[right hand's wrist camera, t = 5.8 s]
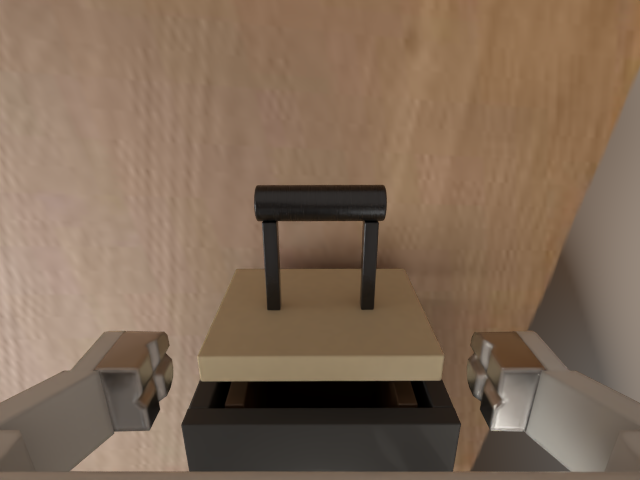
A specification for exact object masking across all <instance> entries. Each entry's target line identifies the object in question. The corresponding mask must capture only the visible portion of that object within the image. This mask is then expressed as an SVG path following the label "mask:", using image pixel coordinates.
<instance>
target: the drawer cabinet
mask: <svg viewBox="0 0 640 480" xmlns="http://www.w3.org/2000/svg"><path fill="white" fill-rule="evenodd" d="M231 382H232V381H201V380H200V381H199V384H198V386H197V389H196V391H195V394H194V396H193V399H192V401H191V404H190V406H189V409H188V410H187V412H186V415H185V417H184V420H183V422H182V425H181V426H182V432H183V437H184V443H185V449H186V455H187V461H188V466H189V472H228V471H295V472H453V467H454V462H455V456H456V450H457V444H458V438H459V432H460V426H461V423H460V421H459V418H458V416H457V414H456V411H455V409H454V408H453V405H452V402H451V400H450V398H449V395H448V393H447V390H446V388H445V386H444V383H443V381H442V378H441V380H440V381H410V382H411V385H412V388H413V391H414V395H415V398H416V401H417V408H225V402H226V399H227V395H228V392H229V389H230V385H231Z"/></svg>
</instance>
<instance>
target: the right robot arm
mask: <svg viewBox="0 0 640 480" xmlns="http://www.w3.org/2000/svg"><path fill="white" fill-rule="evenodd" d="M169 346H170V345H169V341H168V336H167V334H166V333H165V332H148V331H127V332H126V331H107V332H104V333H103V334H102V335H101V336H100V337H99V339H98V340H97V341H96V342H95V343H94V344H93V345H92V347H91V348H90V349H89V350H88V351H87V352H86V353H85V355H84V356H83V357H82V358H81V359H80V360H79V361H78V362H77V364H76V365H75V366H74V367H73V368H72V369H71V370H70V371H63V372H61V373H59V374H57V375H55V376H53V377H51V378H49V379H47V380H45V381H43V382H41V383H39V384H37V385H35V386H33V387H31V388H29V389H27V390H25V391H23V392H21V393H19V394H17V395H15V396H13V397H11V398H9V399H7V400H5V401H3V402H1V403H0V480H640V403H639V402H637V401H635V400H633V399H631V398H629V397H627V396H625V395H623V394H621V393H619V392H617V391H615V390H613V389H611V388H609V387H607V386H605V385H603V384H601V383H599V382H597V381H595V380H593V379H591V378H589V377H587V376H585V375H583V374H581V373H579V372H577V371H570V370H569V369H568V368H567V367H566V366H565V365H564V364H563V362H562V361H561V360H560V359H559V358H558V357H557V356H556V355H555V353H554V352H553V351H552V350H551V349H550V348H549V347H548V345H547V344H546V343H545V342H544V341H543V340H542V339H541V338H540V336H539V335H538V334H537V333H535V332H533V331H513V332H474V334H473V336H472V340H471V345H470V346H471V347H472V349H473V351H474V354H473V355H472V356H471V357H470V358H469V359H468V364H467V379H468V384H469V387H470V390H471V392H472V394H473V396H474V397H476V398H477V399H478V400H480V401H481V406H480V410H481V412H482V414H483V416H484V418H485V420H486V422H487V424H488V426H489V428H490V430H491V431H525V432H526V434H527V435H528V436H530V437H531V438H532V439H533V440H534V441H536V442H537V443H538V444H539V445H540V446H541V447H543V448H544V449H545V450H546V451H547V452H549V453H550V454H551V455H552V456H553V457H554V458H556V459H557V460H558V461H559V462H560V463H562V464H563V465H564V466H565V467H566V468H568V469H569V470H570V471H571V472H295V471H228V472H82V471H70V470H71V469H73V468H74V467H75V466H76V465H77V464H79V463H80V462H81V461H82V460H83V459H84V458H86V457H87V456H88V455H89V454H90V453H92V452H93V451H94V450H95V449H96V448H98V447H99V446H100V445H101V444H102V443H103V442H105V441H106V440H107V439H108V438H109V437H111V436H112V435H113V434H114V432H115V431H149V430H150V428H151V426H152V424H153V422H154V420H155V418H156V416H157V414H158V412H159V410H160V406H159V401H160V400H162V399H163V398H164V397H166V396H167V394H168V392H169V390H170V388H171V383H172V379H173V363H172V359H171V358H170V357H169V356H168V355H167V354H166V351H167V349H168V347H169Z"/></svg>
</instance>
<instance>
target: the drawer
mask: <svg viewBox="0 0 640 480" xmlns="http://www.w3.org/2000/svg"><path fill="white" fill-rule="evenodd" d="M254 208H255V216H256V219H257V221H263V222H262V230H263V247H264V264H265V269H236V271H235V274H234V276H233V278H232V280H231V283H230V285H229V287H228V289H227V291H226V294H225V296H224V298H223V300H222V303H221V305H220V307H219V309H218V312H217V314H216V316H215V318H214V320H213V323H212V325H211V327H210V329H209V332H208V334H207V336H206V338H205V341H204V343H203V345H202V347H201V349H200V352H199V354H198V356H197V359H198V366H199V373H200V380H201V381H232V382H231V385H230V389H229V392H228V395H227V399H226V402H225V408H417V401H416V398H415V395H414V391H413V388H412V385H411V382H410V381H440V380H441V378H442V371H443V364H444V357H445V356H444V353H443V351H442V349H441V347H440V345H439V343H438V341H437V338H436V336H435V334H434V332H433V330H432V328H431V325H430V323H429V321H428V319H427V317H426V315H425V312H424V310H423V308H422V306H421V304H420V302H419V300H418V297H417V295H416V293H415V291H414V289H413V287H412V284H411V282H410V280H409V278H408V276H407V274H406V271H405V269H376V264H377V246H378V228H379V223H378V221H383V220H384V219H385V216H386V208H387V196H386V189H385V186H384V185H258V186H256V189H255V195H254ZM278 221H363V234H362V259H361V269H280V257H279V234H278Z"/></svg>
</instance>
